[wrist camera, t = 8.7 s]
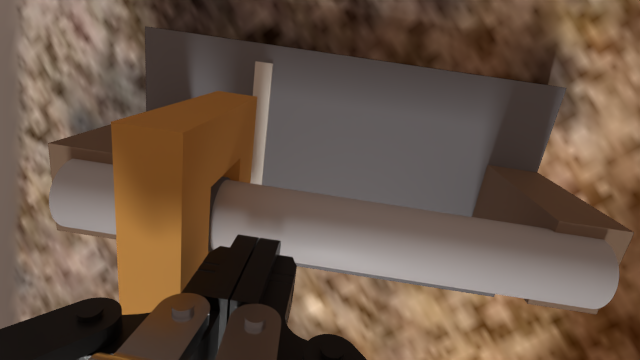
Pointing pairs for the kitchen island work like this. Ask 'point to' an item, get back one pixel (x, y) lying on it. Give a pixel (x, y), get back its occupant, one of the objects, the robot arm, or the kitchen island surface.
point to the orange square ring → (173, 189)
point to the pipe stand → (374, 172)
